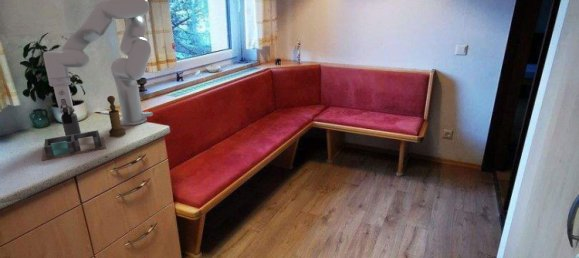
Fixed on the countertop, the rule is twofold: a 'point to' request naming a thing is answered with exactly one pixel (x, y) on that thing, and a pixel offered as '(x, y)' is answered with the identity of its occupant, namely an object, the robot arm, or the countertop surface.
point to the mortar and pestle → (115, 120)
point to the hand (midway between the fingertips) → (68, 120)
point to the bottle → (71, 124)
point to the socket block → (72, 145)
